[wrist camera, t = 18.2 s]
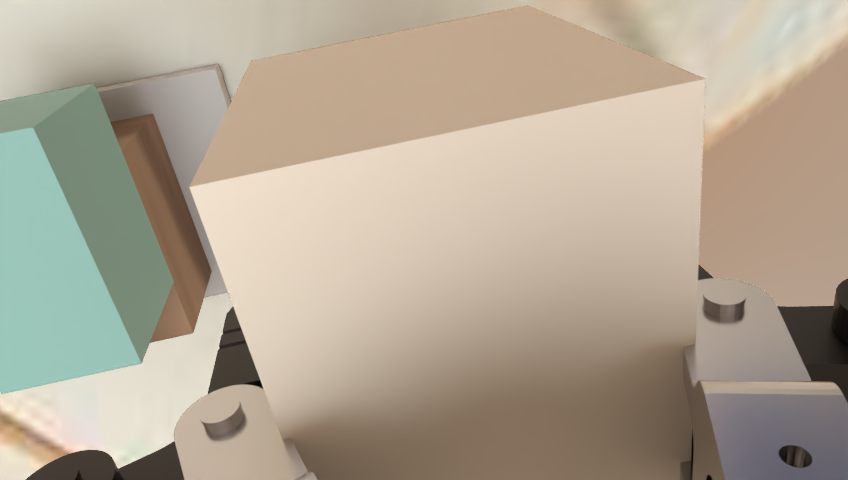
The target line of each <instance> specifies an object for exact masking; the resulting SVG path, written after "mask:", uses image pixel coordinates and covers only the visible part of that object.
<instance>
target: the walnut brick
mask: <svg viewBox="0 0 848 480" xmlns="http://www.w3.org/2000/svg"><path fill="white" fill-rule="evenodd" d="M110 123H111V126H112V128H113V131H114V133H115V136H116V138H117V141H118V143H119V146H120V148H121V151H122V153H123V156H124V158H125V161H126V163H127V166H128V168H129V171H130V173H131V176H132V178H133V181H134V183H135V186H136V188H137V191H138V193H139V196H140V198H141V201H142V203H143V206H144V208H145V211H146V213H147V216H148V218H149V221H150V223H151V226H152V228H153V231H154V233H155V236H156V238H157V241H158V243H159V246H160V248H161V251H162V253H163V256H164V258H165V261H166V263H167V266H168V268H169V271H170V273H171V276H172V278H173V281H174V283H173V285H172V288H171V290H170V293H169V295H168V298H167V300H166V303H165V305H164V308H163V310H162V313H161V315H160V318H159V320H158V323H157V326H156V328H155V331H154V333H153V336H152V338H151V341H150V343H151V342H155V341H160V340H164V339H169V338H173V337H178V336H182V335H187V334H191V333H193V332H194V329H195V325H196V322H197V319H198V315H199V312H200V309H201V305H202V302H203V299H204V295H205V292H206V289H207V285H208V282H209V279H210V275H211V272H212V271H211V268H210V265H209V262H208V260H207V257H206V254H205V252H204V249H203V246H202V244H201V241H200V238H199V236H198V233H197V230H196V227H195V225H194V222H193V219H192V217H191V214H190V211H189V209H188V206H187V203H186V201H185V198H184V195H183V192H182V190H181V187H180V184H179V182H178V179H177V176H176V174H175V171H174V168H173V165H172V163H171V160H170V157H169V155H168V152H167V149H166V147H165V144H164V141H163V139H162V136H161V133H160V130H159V128H158V125H157V122H156V120H155V117H154V114H149V115H144V116H139V117H134V118H129V119H124V120H119V121H114V122H110Z"/></svg>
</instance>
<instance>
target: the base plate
mask: <svg viewBox="0 0 848 480" xmlns="http://www.w3.org/2000/svg"><path fill="white" fill-rule="evenodd" d="M97 90H98V93H99V95H100V98H101V100H102V103H103V105H104V108H105V110H106V113H107V115H108V118H109V120H110V122H114V121H119V120H124V119H129V118H134V117H139V116H144V115H149V114H154V117H155V120H156V122H157V125H158V128H159V130H160V133H161V136H162V139H163V141H164V144H165V147H166V149H167V152H168V155H169V157H170V160H171V163H172V165H173V168H174V171H175V174H176V176H177V179H178V182H179V184H180V187H181V190H182V192H183V195H184V198H185V201H186V203H187V206H188V209H189V211H190V214H191V217H192V219H193V222H194V225H195V227H196V230H197V233H198V236H199V238H200V241H201V244H202V246H203V249H204V252H205V254H206V257H207V260H208V262H209V265H210V268H211V271H212V272H211V275H210V279H209V282H208V285H207V289H206V292H205V295H204V297H209V296H213V295H218V294H223V293H227V292H228V291H227V288H226V286H225V283H224V280H223V277H222V275H221V272H220V269H219V267H218V264H217V261H216V258H215V256H214V253H213V250H212V248H211V245H210V242H209V239H208V237H207V234H206V231H205V229H204V226H203V223H202V220H201V218H200V215H199V212H198V210H197V207H196V204H195V201H194V199H193V196H192V193H191V191H190V188H189V187H190V185H191V182H192V180H193V178H194V176H195V174H196V172H197V170H198V168H199V166H200V164H201V162H202V160H203V158H204V156H205V154H206V152H207V150H208V148H209V146H210V144H211V142H212V140H213V138H214V136H215V134H216V132H217V130H218V128H219V126H220V124H221V122H222V120H223V118H224V116H225V114H226V112H227V110H228V108H229V106H230V103H231V102H230V99H229V96H228V92H227V89H226V86H225V83H224V80H223V76H222V73H221V70H220V67H219V64H215V65H210V66H205V67H200V68H195V69H190V70H185V71H180V72H175V73H170V74H165V75H160V76H155V77H150V78H145V79H140V80H135V81H130V82H124V83H119V84H114V85H109V86H104V87H99V88H97Z"/></svg>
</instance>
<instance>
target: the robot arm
mask: <svg viewBox="0 0 848 480" xmlns="http://www.w3.org/2000/svg"><path fill="white" fill-rule="evenodd" d="M219 347H220V349H219V350H218V353H217V357H216V361H215V366H214V370H213V374H212V378H211V382H210V387H209V391H208V394H207V395H205V396H204V397H202V398H201V399H199V400H197V401H196V402H195V403H194V404H192V405H191V406H190V407H189V408H188V409H187V410H186V411H185V412H184V413H183V414H182V416H181V417H180V419H179V420H178V422H177V424H176V427H175V430H174V442H172V443H171V444H169V445H167V446H166V447H164V448H162V449H160V450H158V451H156V452H154V453H152V454H150V455H147V456H145V457H143V458H141V459H139V460H137V461H134V462H132V463H130V464H128V465H126V466H124V467H121V468H119V469H118V468H117V466H116V464H115V462H114V461H113V459H112V457H111V456H110V455H109V454H107V453H105V452H103V451H98V450H85V451H79V452H75V453H71V454H68V455H65V456H63V457H60V458H58V459H56V460H54V461H52V462H50V463H48V464H47V465H45V466H43V467H42V468H40V469H39V470H37V471H36V472H35V473H33V474H32V475H31V476H30V477H28V478H27V479H26V480H318V479H317V478H316V476H315V474H314V473H313V472H312V471H310V472H308V471H307V469H306V467H305V465H304V463H303V461H302V459H301V457H300V455H299V453H298V451H297V449H296V447H295V445H294V443H293V441H292V439H291V437H290V438H286V439H282V438H281V435H280V432H279V429H278V427H277V424H276V421H275V419H274V416H273V413H272V410H271V408H270V405H269V402H268V400H267V397H266V394H265V391H264V389H263V386H262V383H261V381H260V378H259V375H258V372H257V370H256V367H255V364H254V362H253V359H252V356H251V353H250V351H249V348H248V345H247V343H246V340H245V337H244V334H243V332H242V329H241V326H240V324H239V321H238V318H237V315H236V313H235V310H234V307H232V308H231V309H230V311H229V312H228V313H227V315H226V320H225V324H224V328H223V335H222V336H221V340H220V345H219ZM683 380H684V385H685V389H686V394H687V399H688V404H689V408H690V413H691V420H692V450H691V460H690V461H685V462H681V463H680V480H848V279H846V280H844V281H843V282H841V283H840V284H839V285H838V287H837V289H836V295H835V301H834V306H810V307H780V306H777V305H776V303H775V301H774V300H773V298H772V297H771V296H770V295H769V294H768V293H767V292H765V291H764V290H762V289H761V288H759V287H757V286H755V285H752V284H750V283H747V282H743V281H739V280H734V279H725V278H713V277H712V276H711V275H710V274H709V273H708V272H706V271H705V270H704V269H703V268H702V267H701V266H700V265H699V266H698V292H697V318H696V344H693V345H688V346H684V347H683Z"/></svg>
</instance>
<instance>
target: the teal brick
mask: <svg viewBox="0 0 848 480" xmlns="http://www.w3.org/2000/svg"><path fill="white" fill-rule="evenodd" d="M173 283H174V281H173V278H172V276H171V273H170V271H169V268H168V266H167V263H166V261H165V258H164V256H163V253H162V251H161V248H160V246H159V243H158V241H157V238H156V236H155V233H154V231H153V228H152V226H151V223H150V221H149V218H148V216H147V213H146V211H145V208H144V206H143V203H142V201H141V198H140V196H139V193H138V191H137V188H136V186H135V183H134V181H133V178H132V176H131V173H130V171H129V168H128V166H127V163H126V161H125V158H124V156H123V153H122V151H121V148H120V146H119V143H118V141H117V138H116V136H115V133H114V131H113V128H112V126H111V123H110V120H109V118H108V115H107V113H106V110H105V108H104V105H103V103H102V100H101V98H100V95H99V93H98V90H97V88H96V85H95V83H92V84H87V85H81V86H76V87H71V88H66V89H61V90H55V91H50V92H45V93H40V94H35V95H29V96H24V97H19V98H14V99H8V100H3V101H0V392H1V394H5V393H9V392H14V391H18V390H23V389H28V388H32V387H37V386H41V385H46V384H50V383H55V382H59V381H64V380H68V379H73V378H78V377H82V376H87V375H91V374H96V373H100V372H105V371H109V370H114V369H119V368H123V367H128V366H132V365H137V364H141V363H142V361H143V358H144V356H145V353H146V351H147V348H148V346H149V343H150V341H151V338H152V336H153V333H154V331H155V328H156V326H157V323H158V320H159V318H160V315H161V313H162V310H163V308H164V305H165V303H166V300H167V298H168V295H169V293H170V290H171V288H172V285H173Z"/></svg>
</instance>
